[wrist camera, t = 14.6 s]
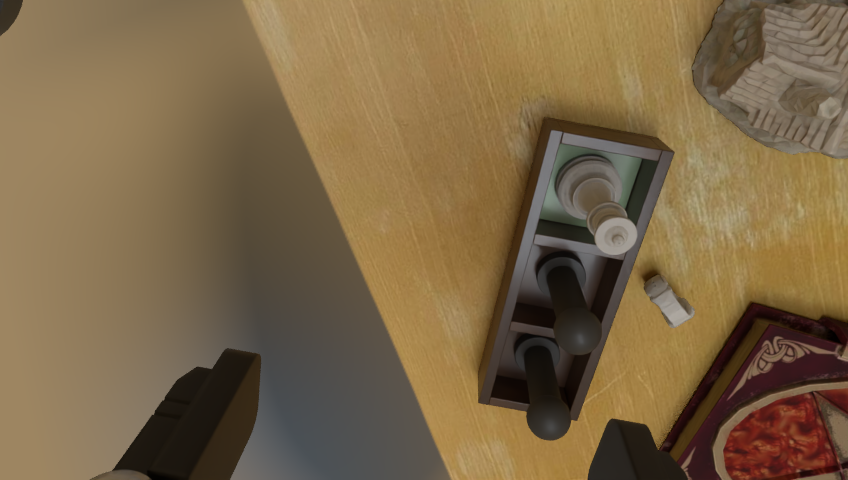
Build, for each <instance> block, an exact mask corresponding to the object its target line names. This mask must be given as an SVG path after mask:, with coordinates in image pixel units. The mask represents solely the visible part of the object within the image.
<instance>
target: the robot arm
mask: <svg viewBox="0 0 848 480" xmlns="http://www.w3.org/2000/svg"><path fill="white" fill-rule="evenodd" d="M260 368H261V356H260V354H257V353H251V352H246V351H240V350H235V349H229V348H227V349H225V350H224V352H223V353H222V354H221V356H220V358H219V359H218V361H217V362H216V364H215V365H214V367H213V369H208V368H202V367H196V368H194V369H193V370H191V371H190V372H188V373H187V374H185V375H184V376H182V377H181V378H179V379H178V380H177V381H176V383H175V384H174V385H173V387H172V388H171V389H170V391H169V392H168V394H167V395H166V396H165V400H164V401H162V402H161V403H160V405H159V406H158V408H157V409H156V410H155V413H154V415H152V416H151V417H150V419H149V420H148V422H147V423H146V425H145V426H144V427H143V429H142V430H141V432H140V433H139V434H138V436H137V437H136V438H135V440H134V441H133V443H132V444H131V445H130V447H129V448H128V450H127V451H126V453H125V454H124V455H123V457H122V458H121V459H120V461H119V462H118V464H117V465H116V466H115V468H114V469H113V470H112V471H110V472H106V473H104V474H101V475H98V476H96V477H94V478H92V479H90V480H230V478H231V476H232V474H233V472H234V470H235V468H236V465H237V463H238V461H239V459H240V457H241V455H242V453H243V450H244V448H245V446H246V444H247V442H248V440H249V438H250V435H251V433H252V430H253V427H254V424H255V421H256V416H257V410H258V400H259V385H260ZM588 480H688V478H687V475H686V473H685V471H684V470H683V469H682V468H681V467H680V466H679V464H678V463H677V462H676V461H675V460H674V459H673V458H672V456H671V455H670V454H669V453H668V452H664V451H659V450H657V447H656V445H655V442H654V440H653V437H652V435H651V432H650V430H649V428H648V427H647V426H646V425H645V424H640V423H635V422H629V421H624V420H618V419H611V420H609V422H608V423H607V425H606V428H605V430H604V433H603V435H602V438H601V440H600V443H599V446H598V448H597V451H596V453H595V456H594V458H593V461H592V463H591V466H590V469H589V474H588Z"/></svg>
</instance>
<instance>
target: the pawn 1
mask: <svg viewBox="0 0 848 480" xmlns="http://www.w3.org/2000/svg"><path fill="white" fill-rule="evenodd" d="M536 279H537V283H538V286H539V288H540V290H541V291H542V292H543V293H544V294H545V295H547V296H549V297H551V300H552V304H553V308H554V312H555V316H556V321H555V323H554V328H553V332H554V337H555V340H556V342H557V343H558V345H559V346H560V347H561V348H562V349H563V350H564V351H566V352H568V353H570V354H574V355H584V354H587V353H590V352H591V351H593V350H594V349H595V348H596V347H597V346H598V344H599V343H600V341H601V338H602V326H601V323H600V321H599V319H598V318H597V317H596V315H595V314H594V313H592V312H591V311H589V309H588V306H587V303H586V301H585V298H584V295H583V292H582V290H581V289H582V288H583V286H584V284H585V281H586V273H585V269H584V267H583V264H582V262H581V261H580V259H579V258H578V257H576V256H575V255H573V254H571V253H569V252H563V251H559V252H554V253H551V254H549V255H547V256H545V257H544V258H543V259H542V260H541V261H540V262H539V264H538V266H537V268H536Z"/></svg>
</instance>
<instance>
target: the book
mask: <svg viewBox="0 0 848 480" xmlns="http://www.w3.org/2000/svg"><path fill="white" fill-rule="evenodd" d="M659 451H664V452H668V453H669V454H670V455H671V456H672V458H673V459H674V460H675V461H676V462H677V463H678V464H679V466H680V467H681V468H682V469H683V470H684V471H685V473H686V475H687V478H688V480H848V323H845V322H841V321H838V320H834V319H831V318H827V317H824V318H822V319H820V320H819V321H814V320H811V319H807V318H804V317H800V316H797V315H793V314H790V313H786V312H783V311H779V310H776V309H772V308H769V307H765V306H762V305H758V304H755V303H752V305H751V307H750V308H749V310H748V311H747V313H746V314H745V316H744V318H743V319H742V321H741V322H740V324H739V325H738V327H737V329H736V330H735V332H734V333H733V335H732V336H731V338H730V340H729V341H728V343H727V344H726V346H725V347H724V349H723V351H722V352H721V354H720V355H719V357H718V359H717V360H716V362H715V363H714V365H713V366H712V368H711V370H710V371H709V373H708V374H707V376H706V377H705V379H704V381H703V382H702V384H701V385H700V387H699V388H698V390H697V392H696V393H695V395H694V396H693V398H692V399H691V401H690V403H689V404H688V406H687V407H686V409H685V410H684V412H683V414H682V415H681V417H680V418H679V420H678V421H677V423H676V425H675V426H674V428H673V429H672V431H671V432H670V434H669V436H668V437H667V439H666V440H665V442H664V444H663V445H662V447H661V448H660V450H659Z"/></svg>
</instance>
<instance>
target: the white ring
mask: <svg viewBox="0 0 848 480" xmlns="http://www.w3.org/2000/svg"><path fill="white" fill-rule="evenodd" d="M644 290H645V292H646V294H647V295H648V296H650V300H651V301H652V302H654V303H655V304H657V305H658V306H659V307H660V309H661V310H662V315H663V316H664V318H665V320H666V322H667V323H668V325H669V326H670V327H671V328H675V327H677V326H679V325H681V324H682V323H684V322H686V321H687V320H689V319H691V318H692V317H693V316H694V308H693V307H692V306H690V304H689V303H688V301H687V300H686V299H685V298H680V297H678V296H677V295H676V294H675V293H674V292H673V291H672V288H671V287H670V286H669V285H668V282H667V280H666V279H665V277H664V276H663V275H656V276H654V277H652V278H651V279H649V280H648V281H647V282H646V283H645V286H644Z"/></svg>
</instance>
